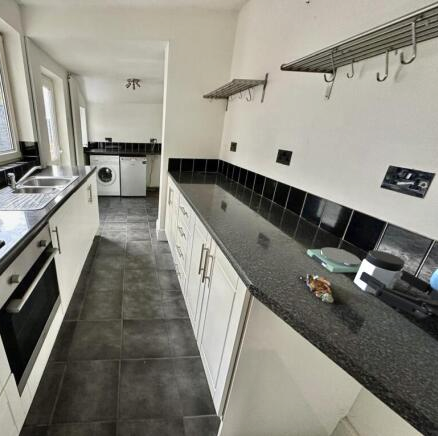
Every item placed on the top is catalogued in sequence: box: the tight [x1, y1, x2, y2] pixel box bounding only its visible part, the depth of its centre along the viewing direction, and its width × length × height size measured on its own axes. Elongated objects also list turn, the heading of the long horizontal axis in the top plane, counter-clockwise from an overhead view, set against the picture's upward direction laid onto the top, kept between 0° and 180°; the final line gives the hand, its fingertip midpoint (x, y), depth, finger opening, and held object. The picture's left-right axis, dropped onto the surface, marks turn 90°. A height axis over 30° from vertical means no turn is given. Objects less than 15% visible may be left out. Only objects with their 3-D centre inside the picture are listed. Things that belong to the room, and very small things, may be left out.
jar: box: [353, 250, 406, 294], centre depth 73 cm, size 9×8×12 cm
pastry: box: [300, 273, 334, 304], centre depth 72 cm, size 7×12×4 cm, turn 174°
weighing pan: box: [319, 246, 361, 266], centre depth 87 cm, size 12×12×1 cm
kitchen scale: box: [306, 248, 363, 273], centre depth 88 cm, size 15×13×2 cm
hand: (382, 275), depth 71 cm, fingers open, 13 cm apart
